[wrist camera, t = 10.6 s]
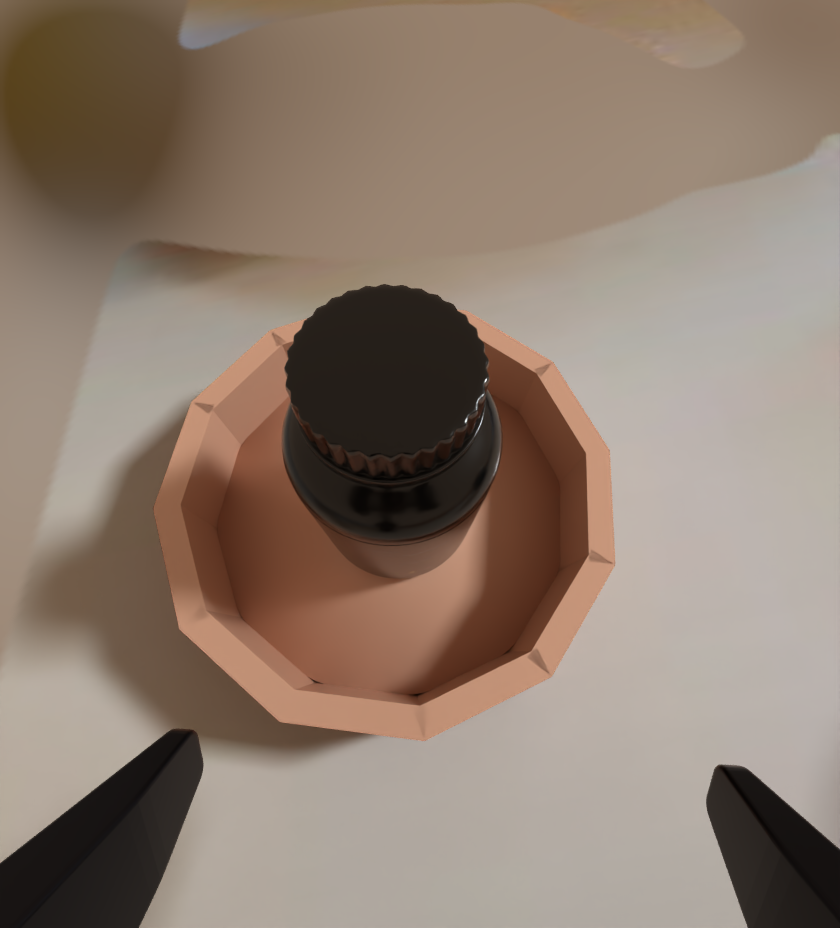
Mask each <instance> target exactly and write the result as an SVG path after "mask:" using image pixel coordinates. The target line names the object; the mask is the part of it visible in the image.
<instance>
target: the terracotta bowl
mask: <svg viewBox="0 0 840 928" xmlns="http://www.w3.org/2000/svg"><path fill="white" fill-rule="evenodd" d="M457 311H459V312H461V313H463V314H465V315H466V316H467V318H468V321H469V323H470V324H472V325H473V326H474V327H475V328H476V329H477V332H478V337H479V338H480V339H481V340H482V341H483V343H484V344H485V352H484V353H485V354H486V356H487V358H488V360H489V367H488V371H487V372H488V374H489V385H488V390H489V392H490V393H491V395H492V397H493V399H494V401H495V404H496V406H497V409H498V412H499V416H500V420H501V425H502V435H503V446H502V454H501V460H500V464H499V468H498V471H497V474H496V476H495V479H494V481H493V483H492V485H491V487H490V489H489V491H488V493H487V496H486V498H485V500H484V502H483V504H482V506H481V508H480V510H479V511H478V513H477V515H476V517H475V519H474V521H473V523H472V525H471V527H470V529H469V531H468V533H467V534H466V536H465V538H464V540H463V541H462V543H461V544H460V546H459V547H458V549H457V550H456V551H455V553H454V554H453V555H452V556H451V557H450V558H449V559H447V560H446V561H445V562H444V563H443V564H441V565H440V566H438V567H437V568H435V569H433V570H431V571H429V572H427V573H425V574H422V575H419V576H415V577H411V578H402V579H393V578H385V577H380V576H376V575H373V574H370V573H368V572H366V571H364V570H362V569H360V568H358V567H357V566H355V565H354V564H352V563H351V562H350V561H349V560H348V559H346V558H345V557H344V555H343V554H342V553H341V552H340V551H339V550H338V549H337V548H336V546H335V545H334V544H333V542H332V541H331V540H330V538H329V537H328V536H327V534H326V533H325V532H324V531H323V529H322V528H321V527H320V525H319V524H318V523H317V521H316V520H315V519H314V517H313V516H312V515H311V513H310V512H309V511H308V510H307V508H306V507H305V506H304V504H303V503H302V502H301V500H300V498H299V497H298V495H297V494H296V492H295V490H294V488H293V486H292V484H291V482H290V480H289V478H288V475H287V472H286V469H285V466H284V461H283V456H282V446H281V445H282V427H283V422H284V418H285V414H286V411H287V408H288V405H289V403H290V401H291V400H290V397H289V395H288V393H287V391H286V387H285V385H286V379H287V377H286V374H285V371H284V367H285V365H286V362H287V361H288V355H287V350H288V349H289V348H290V346H292V344H293V339H294V335H295V334H296V333H297V332H298V331H299V330H300V329H301V328H302V325H303V322H304V320H306V319H304V320H301V321H298V322H295V323H291V324H288V325H285V326H282V327H279V328H275V329H272V330H271V331H269V332H268V333H267V334H265V335H264V336H263V337H262V338H261V339H260V340H259V341H258V342H257V343H256V344H254V345H253V346H252V347H251V348H250V349H249V350H248V351H247V352H246V353H245V354H243V355H242V356H241V357H240V358H239V359H238V360H237V361H236V362H235V363H234V364H232V365H231V366H230V367H229V368H228V369H227V370H226V371H225V372H224V373H222V374H221V375H220V376H219V377H218V378H217V379H216V380H215V381H214V382H213V383H211V384H210V385H209V386H208V387H207V388H206V389H205V390H204V391H203V392H202V393H200V394H199V395H198V396H197V397H196V398H195V399H194V400H193V401H192V402H191V404H190V407H189V410H188V413H187V415H186V418H185V421H184V424H183V427H182V429H181V432H180V435H179V438H178V440H177V443H176V446H175V449H174V452H173V454H172V457H171V460H170V463H169V465H168V468H167V471H166V474H165V477H164V479H163V482H162V485H161V488H160V490H159V493H158V496H157V499H156V502H155V504H154V507H153V508H154V509H153V510H154V515H155V520H156V524H157V529H158V533H159V538H160V543H161V547H162V552H163V556H164V561H165V566H166V570H167V575H168V579H169V584H170V589H171V593H172V598H173V602H174V607H175V612H176V616H177V621H178V625H179V629H180V630H181V631H182V632H183V633H184V634H185V635H186V636H187V637H188V638H189V639H190V640H191V641H193V642H194V643H195V644H196V645H197V646H198V647H199V648H200V649H201V650H202V651H203V652H204V653H206V654H207V655H208V656H209V657H210V658H211V659H212V660H213V661H214V662H215V663H216V664H217V665H219V666H220V667H221V668H222V669H223V670H224V671H225V672H226V673H227V674H228V675H229V676H230V677H232V678H233V679H234V680H235V681H236V682H237V683H238V684H239V685H240V686H241V687H242V688H243V689H245V690H246V691H247V692H248V693H249V694H250V695H251V696H252V697H253V698H254V699H255V700H256V701H258V702H259V703H260V704H261V705H262V706H263V707H264V708H265V709H266V710H267V711H268V712H269V713H271V714H272V715H273V716H274V717H275V718H276V719H277V720H278V721H279V722H283V723H291V724H298V725H306V726H314V727H321V728H329V729H337V730H344V731H352V732H359V733H367V734H375V735H382V736H390V737H397V738H405V739H413V740H420V741H424V740H425V741H426V740H427V739H429V738H431V737H433V736H435V735H437V734H439V733H441V732H443V731H445V730H447V729H449V728H451V727H453V726H455V725H457V724H459V723H461V722H463V721H465V720H467V719H469V718H471V717H473V716H475V715H477V714H479V713H481V712H483V711H485V710H487V709H489V708H491V707H493V706H495V705H497V704H499V703H501V702H503V701H505V700H507V699H509V698H511V697H513V696H515V695H517V694H519V693H521V692H523V691H525V690H526V689H528V688H530V687H532V686H534V685H536V684H538V683H540V682H542V681H544V680H546V679H548V678H550V677H551V676H552V675H553V674H554V672H555V670H556V668H557V667H558V665H559V663H560V661H561V659H562V658H563V656H564V654H565V652H566V651H567V649H568V647H569V645H570V644H571V642H572V640H573V638H574V637H575V635H576V633H577V631H578V630H579V628H580V626H581V624H582V623H583V621H584V619H585V617H586V615H587V614H588V612H589V610H590V608H591V607H592V605H593V603H594V601H595V600H596V598H597V596H598V594H599V593H600V591H601V589H602V587H603V586H604V584H605V582H606V580H607V579H608V577H609V575H610V573H611V571H612V570H613V568H614V566H615V548H614V528H613V508H612V487H611V467H610V451H609V449H608V447H607V445H606V444H605V442H604V441H603V439H602V438H601V436H600V435H599V433H598V431H597V430H596V428H595V427H594V425H593V424H592V422H591V420H590V419H589V417H588V416H587V414H586V413H585V411H584V410H583V408H582V406H581V405H580V403H579V402H578V400H577V399H576V397H575V396H574V394H573V392H572V391H571V389H570V388H569V386H568V385H567V383H566V381H565V380H564V378H563V377H562V375H561V374H560V372H559V371H558V369H557V367H556V366H555V364H554V363H553V362H552V361H550V360H549V359H547V358H545V357H544V356H542V355H540V354H539V353H537V352H535V351H534V350H532V349H530V348H529V347H527V346H525V345H524V344H522V343H520V342H518V341H517V340H515V339H513V338H512V337H510V336H508V335H507V334H505V333H503V332H502V331H500V330H498V329H497V328H495V327H493V326H491V325H490V324H488V323H486V322H485V321H483V320H481V319H480V318H478V317H476V316H475V315H473V314H471V313H470V312H468V311H465V310H457Z"/></svg>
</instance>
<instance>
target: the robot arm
mask: <svg viewBox="0 0 840 928" xmlns="http://www.w3.org/2000/svg"><path fill="white" fill-rule="evenodd" d="M202 772H203V758H202V753H201V748H200V744H199V739H198V735H197V733H196V732H195V731H194V730H190V729H173V730H171V731H169V732H167V733H166V734H165V735H163V736H162V737H161V738H159V739H158V740H157V741H156V742H154V743H153V744H152V745H151V746H149V747H148V748H147V749H145V750H144V751H143V752H142V753H140V754H139V755H138V756H137V757H135V758H134V759H133V760H131V761H130V762H129V763H128V764H126V765H125V766H124V767H122V768H121V769H120V770H119V771H117V772H116V773H115V774H114V775H112V776H111V777H110V778H108V779H107V780H106V781H105V782H103V783H102V784H101V785H99V786H98V787H97V788H96V789H94V790H93V791H92V792H91V793H89V794H88V795H87V796H85V797H84V798H83V799H82V800H80V801H79V802H78V803H77V804H75V805H74V806H73V807H71V808H70V809H69V810H68V811H66V812H65V813H64V814H62V815H61V816H60V817H59V818H57V819H56V820H55V821H54V822H52V823H51V824H50V825H48V826H47V827H46V828H45V829H43V830H42V831H41V832H39V833H38V834H37V835H36V836H34V837H33V838H32V839H31V840H29V841H28V842H27V843H25V844H24V845H23V846H22V847H20V848H19V849H18V850H17V851H15V852H14V853H13V854H11V855H10V856H9V857H8V858H6V859H5V860H4V861H2V862H1V863H0V928H139V926H140V924H141V922H142V920H143V918H144V916H145V914H146V912H147V910H148V907H149V905H150V903H151V901H152V899H153V897H154V895H155V893H156V890H157V888H158V886H159V884H160V882H161V879H162V877H163V875H164V872H165V870H166V867H167V865H168V862H169V860H170V857H171V854H172V852H173V849H174V847H175V844H176V841H177V839H178V836H179V834H180V831H181V828H182V826H183V823H184V821H185V818H186V815H187V813H188V810H189V808H190V805H191V802H192V800H193V797H194V795H195V792H196V789H197V787H198V784H199V782H200V779H201V776H202ZM706 806H707V811H708V815H709V818H710V821H711V824H712V827H713V830H714V833H715V836H716V838H717V841H718V844H719V847H720V850H721V853H722V856H723V859H724V861H725V864H726V867H727V870H728V873H729V876H730V879H731V881H732V884H733V887H734V890H735V893H736V896H737V899H738V902H739V904H740V907H741V910H742V913H743V916H744V918H745V921H746V924H747V927H748V928H840V849H839V848H838V847H836V846H835V845H834V844H833V843H832V842H831V841H830V840H828V839H827V838H826V837H825V836H824V835H823V834H822V833H820V832H819V831H818V830H817V829H816V828H815V827H814V826H812V825H811V824H810V823H809V822H808V821H807V820H806V819H804V818H803V817H802V816H801V815H800V814H799V813H798V812H796V811H795V810H794V809H793V808H792V807H791V806H790V805H788V804H787V803H786V802H785V801H784V800H783V799H782V798H780V797H779V796H778V795H777V794H776V793H775V792H774V791H772V790H771V789H770V788H769V787H768V786H767V785H766V784H764V783H763V782H762V781H761V780H760V779H759V778H758V777H756V776H755V775H754V774H753V773H752V772H751V771H749V770H748V769H746V768H745V767H742V766H737V765H718V766H717V767H715V769H714V772H713V776H712V779H711V783H710V787H709V790H708V794H707V798H706Z"/></svg>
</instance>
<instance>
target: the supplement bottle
mask: <svg viewBox="0 0 840 928" xmlns="http://www.w3.org/2000/svg"><path fill="white" fill-rule="evenodd" d="M484 352H485V344H484V343H483V341H482V340H481V339H480V338H479V337H478V332H477V329H476V328H475V327H474V326H473V325H472V324H470V323H469V321H468V318H467V316H466V315H465V314H463V313H461V312H459V311H457V309H456V307H455V306H454V305H453V304H452V303H449V302H446V301H443V300H442V299H441V297H439V296H438V295H435V294H429V293H427V292H425V291H424V290H422V289H416V288H415V289H411V288H409V287H407V286H404V285H399V286H390V285H386V284H383V285H380V286H377V287H371V286H365V287H363V288H361V289H359V290H352V291H347V292H346V293H345V294H343V295H342V296H340V297H335V298H332V299H331V300H330V301H329V302H328V303H327V304H326V305H324V306H321V307H319V308H317V309H316V310H315V312H314V314H313V316H311V317H309V318H307V319H306V320H304V322H303V325H302V328H301V329H300V330H299V331H298V332H297V333H296V334H295V335H294V339H293V344H292V346H290V348H289V349H288V350H287V355H288V361H287V362H286V365H285V367H284V371H285V374H286V377H287V379H286V385H285V387H286V391H287V393H288V395H289V397H290V400H291V401H290V403H289V405H288V408H287V411H286V414H285V418H284V422H283V427H282V445H281V446H282V456H283V461H284V466H285V469H286V472H287V475H288V478H289V480H290V482H291V484H292V486H293V488H294V490H295V492H296V494H297V495H298V497H299V498H300V500H301V502H302V503H303V504H304V506H305V507H306V508H307V510H308V511H309V512H310V513H311V515H312V516H313V517H314V519H315V520H316V521H317V523H318V524H319V525H320V527H321V528H322V529H323V531H324V532H325V533H326V534H327V536H328V537H329V538H330V540H331V541H332V542H333V544H334V545H335V546H336V548H337V549H338V550H339V551H340V552H341V553H342V554H343V555H344V557H345V558H346V559H348V560H349V561H350V562H351V563H352V564H354V565H355V566H357V567H358V568H360V569H362V570H364V571H366V572H368V573H370V574H373V575H376V576H380V577H385V578H393V579H402V578H411V577H415V576H419V575H422V574H425V573H427V572H429V571H431V570H433V569H435V568H437V567H438V566H440V565H441V564H443V563H444V562H445V561H446V560H447V559H449V558H450V557H451V556H452V555H453V554H454V553H455V551H456V550H457V549H458V547H459V546H460V544H461V543H462V541H463V540H464V538H465V536H466V534H467V533H468V531H469V529H470V527H471V525H472V523H473V521H474V519H475V517H476V515H477V513H478V511H479V510H480V508H481V506H482V504H483V502H484V500H485V498H486V496H487V493H488V491H489V489H490V487H491V485H492V483H493V481H494V479H495V476H496V474H497V471H498V468H499V464H500V460H501V454H502V446H503V435H502V425H501V420H500V416H499V412H498V409H497V406H496V404H495V401H494V399H493V397H492V395H491V393H490V392H489V390H488V385H489V374H488V372H487V371H488V367H489V360H488V358H487V356H486V354H485V353H484Z"/></svg>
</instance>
